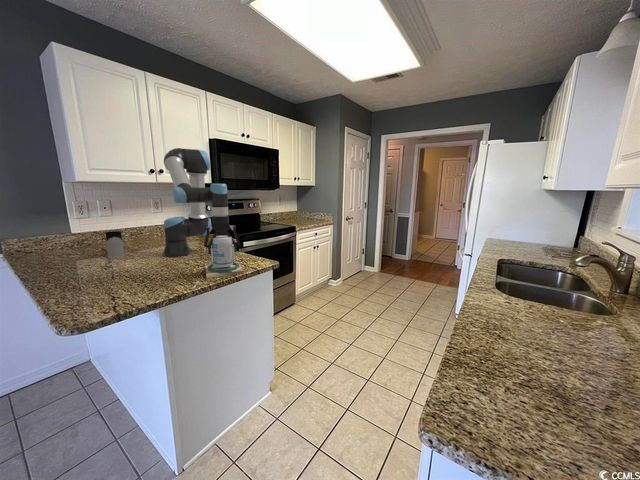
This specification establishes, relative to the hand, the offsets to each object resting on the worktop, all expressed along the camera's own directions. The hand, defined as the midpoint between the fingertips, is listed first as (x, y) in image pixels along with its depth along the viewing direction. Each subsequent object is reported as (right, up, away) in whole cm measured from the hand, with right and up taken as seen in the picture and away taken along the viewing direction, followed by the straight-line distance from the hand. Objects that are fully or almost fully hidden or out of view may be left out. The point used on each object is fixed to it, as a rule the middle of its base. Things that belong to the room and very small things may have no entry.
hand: (223, 259), depth 134 cm
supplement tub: (0, -3, +1) cm, 3 cm away
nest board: (0, -6, +1) cm, 6 cm away
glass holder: (-76, 0, +28) cm, 82 cm away
